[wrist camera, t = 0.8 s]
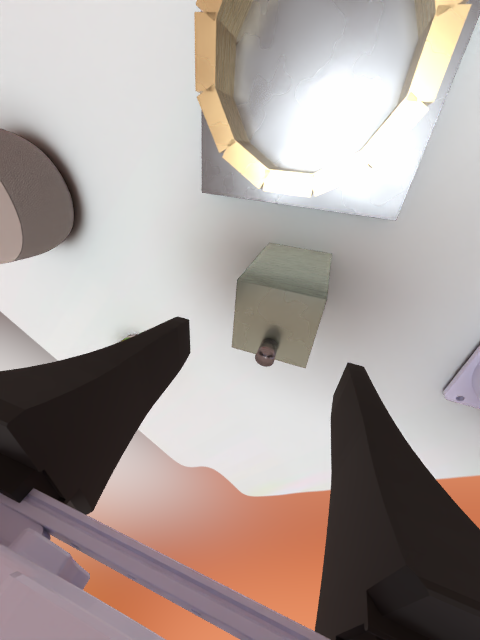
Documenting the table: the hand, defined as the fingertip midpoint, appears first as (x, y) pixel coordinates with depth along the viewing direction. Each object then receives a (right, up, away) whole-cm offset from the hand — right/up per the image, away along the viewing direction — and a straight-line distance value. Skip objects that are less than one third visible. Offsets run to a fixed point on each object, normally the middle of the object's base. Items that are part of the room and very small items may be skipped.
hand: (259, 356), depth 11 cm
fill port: (+3, +14, +2) cm, 15 cm away
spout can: (+3, +5, +8) cm, 10 cm away
